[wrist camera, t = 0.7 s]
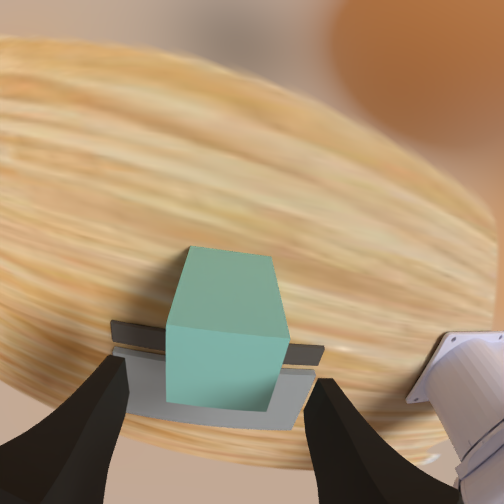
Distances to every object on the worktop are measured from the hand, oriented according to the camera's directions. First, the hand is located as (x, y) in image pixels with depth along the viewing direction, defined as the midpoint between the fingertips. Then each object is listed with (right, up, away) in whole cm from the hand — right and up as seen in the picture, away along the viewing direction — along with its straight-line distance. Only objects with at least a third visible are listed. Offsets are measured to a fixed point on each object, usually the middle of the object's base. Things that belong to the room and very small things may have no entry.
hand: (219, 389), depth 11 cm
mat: (-2, -5, +11) cm, 12 cm away
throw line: (-1, -1, +9) cm, 9 cm away
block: (0, +3, +7) cm, 8 cm away
